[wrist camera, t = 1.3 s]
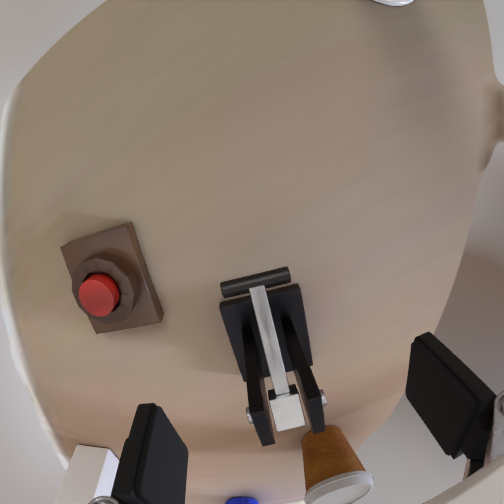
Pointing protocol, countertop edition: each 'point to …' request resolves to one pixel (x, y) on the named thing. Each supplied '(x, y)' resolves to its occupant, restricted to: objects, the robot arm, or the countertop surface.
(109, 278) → the button
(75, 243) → the button block
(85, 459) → the milk carton
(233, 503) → the mug
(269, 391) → the lever
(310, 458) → the disposable coffee cup
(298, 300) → the black lever base
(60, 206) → the countertop surface
